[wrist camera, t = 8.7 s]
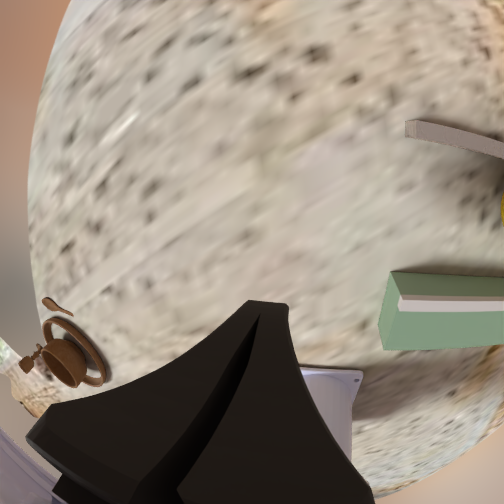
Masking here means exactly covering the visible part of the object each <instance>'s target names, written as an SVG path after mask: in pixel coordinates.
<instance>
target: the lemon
mask: <svg viewBox="0 0 504 504" xmlns="http://www.w3.org/2000/svg"><path fill="white" fill-rule="evenodd" d="M501 217H502V222H503V225H504V193H503V195H502V200H501Z"/></svg>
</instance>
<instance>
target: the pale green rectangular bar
mask: <svg viewBox="0 0 504 504" xmlns="http://www.w3.org/2000/svg"><path fill="white" fill-rule="evenodd" d="M378 327H379V331H380V336H381V340H382V345H383V350H435V349H454V348H468V347H480V346H490V345H499V344H504V277H482V276H461V275H442V274H423V273H405V272H390V275H389V280H388V285H387V289H386V293H385V298H384V302H383V306H382V310H381V314H380V318H379V321H378Z"/></svg>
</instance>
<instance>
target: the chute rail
mask: <svg viewBox="0 0 504 504" xmlns="http://www.w3.org/2000/svg"><path fill="white" fill-rule="evenodd" d="M405 137H408V138H414V139H420V140H425V141H431V142H436V143H441V144H446V145H450V146H455V147H459V148H463V149H467V150H471V151H475V152H479V153H483V154H486V155H490V156H493V157H496V158H500V159H503V160H504V143H503V142H500V141H497V140H494V139H491V138H488V137H484V136H481V135H478V134H474V133H471V132H467V131H463V130H460V129H456V128H452V127H447V126H443V125H439V124H434V123H429V122H424V121H419V120H412V121H405Z"/></svg>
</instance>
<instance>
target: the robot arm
mask: <svg viewBox="0 0 504 504" xmlns="http://www.w3.org/2000/svg"><path fill="white" fill-rule="evenodd" d="M288 314H289V307H288V305H287V304H285V303H274V302H264V301H254V300H248V301H247V302H245V303H244V304H243V305H242V306H241V307H240V308H239V309H238V310H237V311H236V312H235V313H234V314H232V315H231V316H230V317H229V318H228V319H227V320H226V321H225V322H224V323H223V324H221V325H220V326H219V327H218V328H217V329H216V330H214V331H213V332H212V333H211V334H210V335H208V336H207V337H206V338H205V339H203V340H202V341H201V342H199V343H198V344H197V345H195V346H194V347H193V348H191V349H190V350H188V351H187V352H186V353H184V354H183V355H181V356H180V357H178V358H176V359H175V360H173V361H172V362H170V363H168V364H166V365H165V366H163V367H161V368H159V369H157V370H156V371H153V372H151V373H149V374H147V375H145V376H143V377H141V378H139V379H136V380H134V381H132V382H130V383H127V384H125V385H122V386H120V387H117V388H114V389H111V390H108V391H105V392H102V393H99V394H96V395H92V396H89V397H85V398H80V399H75V400H71V401H66V402H61V403H55V404H51V405H50V406H49V408H48V409H47V410H46V411H45V412H44V414H43V415H42V416H41V417H40V419H39V420H38V421H37V422H36V424H35V425H34V426H33V428H32V429H31V430H30V431H29V433H28V434H27V435H26V441H27V442H28V444H30V446H31V447H32V448H33V449H35V450H36V451H37V452H38V453H39V454H40V455H41V456H42V457H43V458H44V459H46V460H47V461H48V462H49V463H50V464H51V465H53V466H54V467H55V468H56V469H57V470H59V471H60V472H61V473H62V476H61V477H60V479H59V480H58V479H57V478H55V477H54V476H53V475H51V474H50V473H49V472H48V471H46V470H45V469H44V468H43V467H42V466H40V465H39V464H38V463H37V462H36V461H34V460H33V459H32V458H31V457H30V456H29V455H28V454H27V453H25V452H24V451H23V450H22V449H21V448H20V447H19V446H18V445H17V444H16V443H15V442H14V440H13V439H12V438H11V437H10V436H9V435H8V434H7V433H6V432H5V431H4V430H3V429H2V428H1V427H0V504H375V501H374V497H373V494H372V490H371V488H370V486H369V482H368V481H366V480H365V479H364V478H363V476H361V475H360V474H359V472H358V471H357V470H356V469H355V467H354V466H353V465H352V463H351V456H352V405H353V402H354V400H355V397H356V395H357V392H358V390H359V387H360V384H361V382H362V379H363V372H362V371H360V370H336V369H319V368H306V367H299V364H298V361H297V358H296V354H295V351H294V347H293V343H292V339H291V335H290V330H289V323H288Z"/></svg>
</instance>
